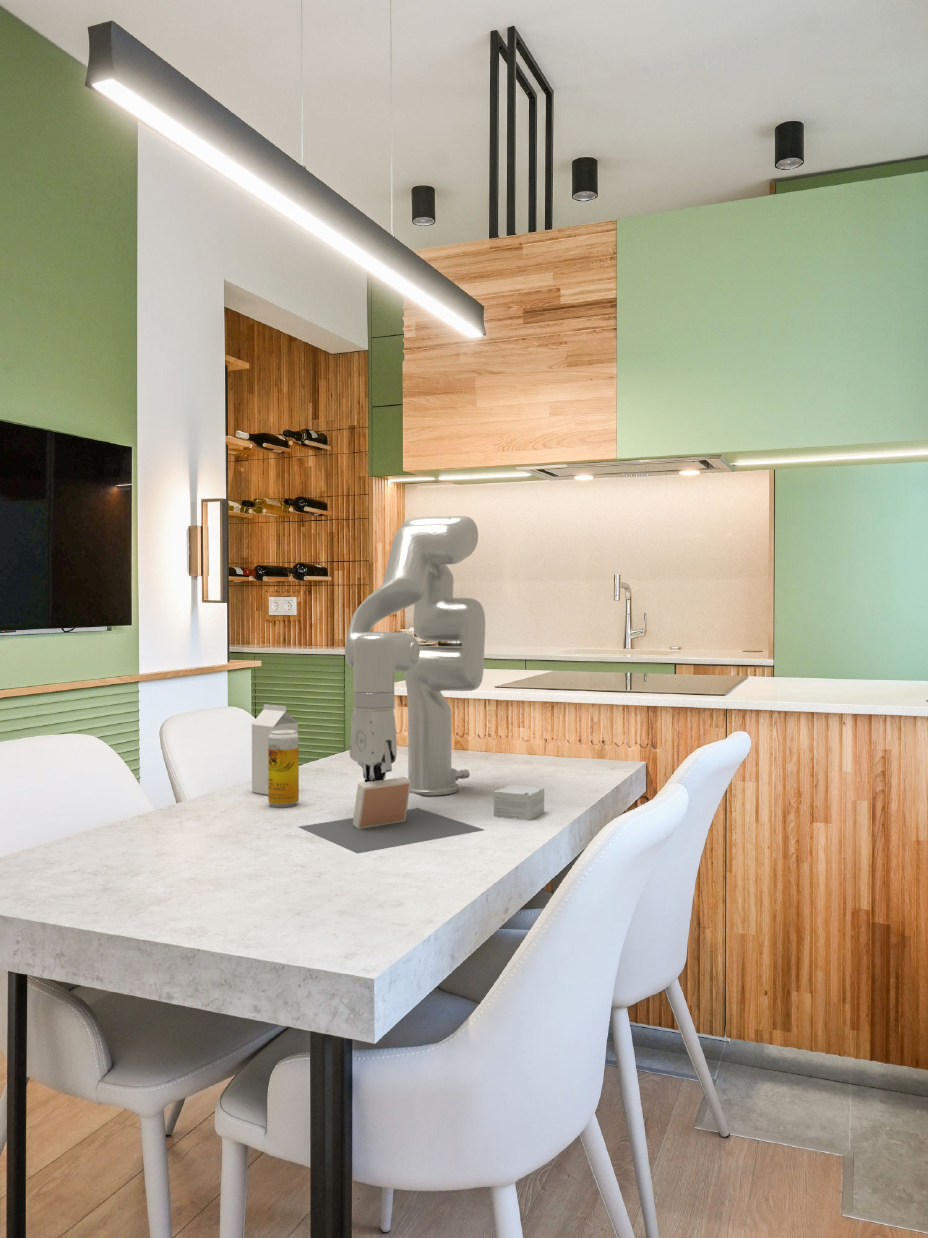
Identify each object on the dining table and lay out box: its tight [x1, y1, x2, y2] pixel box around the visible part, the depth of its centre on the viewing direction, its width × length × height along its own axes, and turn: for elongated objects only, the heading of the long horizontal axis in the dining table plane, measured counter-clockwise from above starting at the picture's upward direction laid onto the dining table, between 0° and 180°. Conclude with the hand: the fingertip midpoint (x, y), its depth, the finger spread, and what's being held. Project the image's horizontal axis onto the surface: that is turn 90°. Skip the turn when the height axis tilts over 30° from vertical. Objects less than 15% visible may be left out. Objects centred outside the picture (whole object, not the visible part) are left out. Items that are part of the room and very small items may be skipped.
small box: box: [493, 784, 545, 821], centre depth 177 cm, size 8×8×5 cm
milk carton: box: [251, 703, 299, 795], centre depth 199 cm, size 7×7×19 cm
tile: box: [352, 776, 411, 829], centre depth 166 cm, size 10×2×8 cm, turn 126°
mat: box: [298, 807, 485, 854], centre depth 164 cm, size 26×22×1 cm
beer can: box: [267, 730, 300, 808], centre depth 186 cm, size 6×6×15 cm
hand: (374, 800), depth 168 cm, fingers closed
